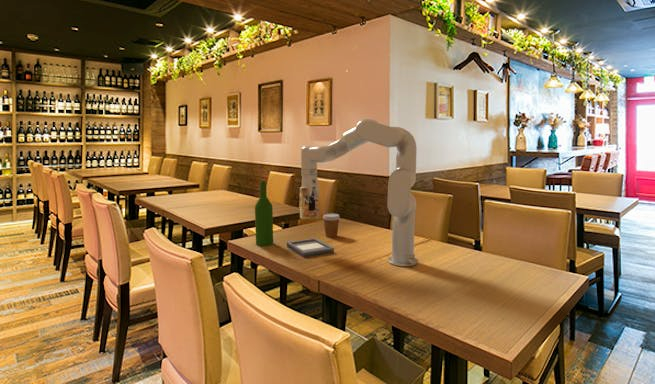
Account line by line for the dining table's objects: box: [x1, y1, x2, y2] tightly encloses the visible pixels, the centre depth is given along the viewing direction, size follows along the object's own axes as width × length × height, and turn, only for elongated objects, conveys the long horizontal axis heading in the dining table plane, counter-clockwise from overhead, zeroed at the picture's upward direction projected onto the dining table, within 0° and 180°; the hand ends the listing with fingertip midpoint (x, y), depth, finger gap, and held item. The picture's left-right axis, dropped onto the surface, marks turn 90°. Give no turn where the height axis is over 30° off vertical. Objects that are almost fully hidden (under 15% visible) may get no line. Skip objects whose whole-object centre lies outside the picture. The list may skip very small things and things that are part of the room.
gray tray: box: [286, 237, 335, 259], centre depth 199 cm, size 20×16×2 cm
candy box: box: [299, 186, 320, 220], centre depth 196 cm, size 9×4×15 cm, turn 107°
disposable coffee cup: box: [322, 213, 340, 238], centre depth 224 cm, size 10×10×12 cm
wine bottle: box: [254, 181, 274, 247], centre depth 208 cm, size 9×9×32 cm
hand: (309, 209), depth 196 cm, fingers closed on candy box, 4 cm apart
